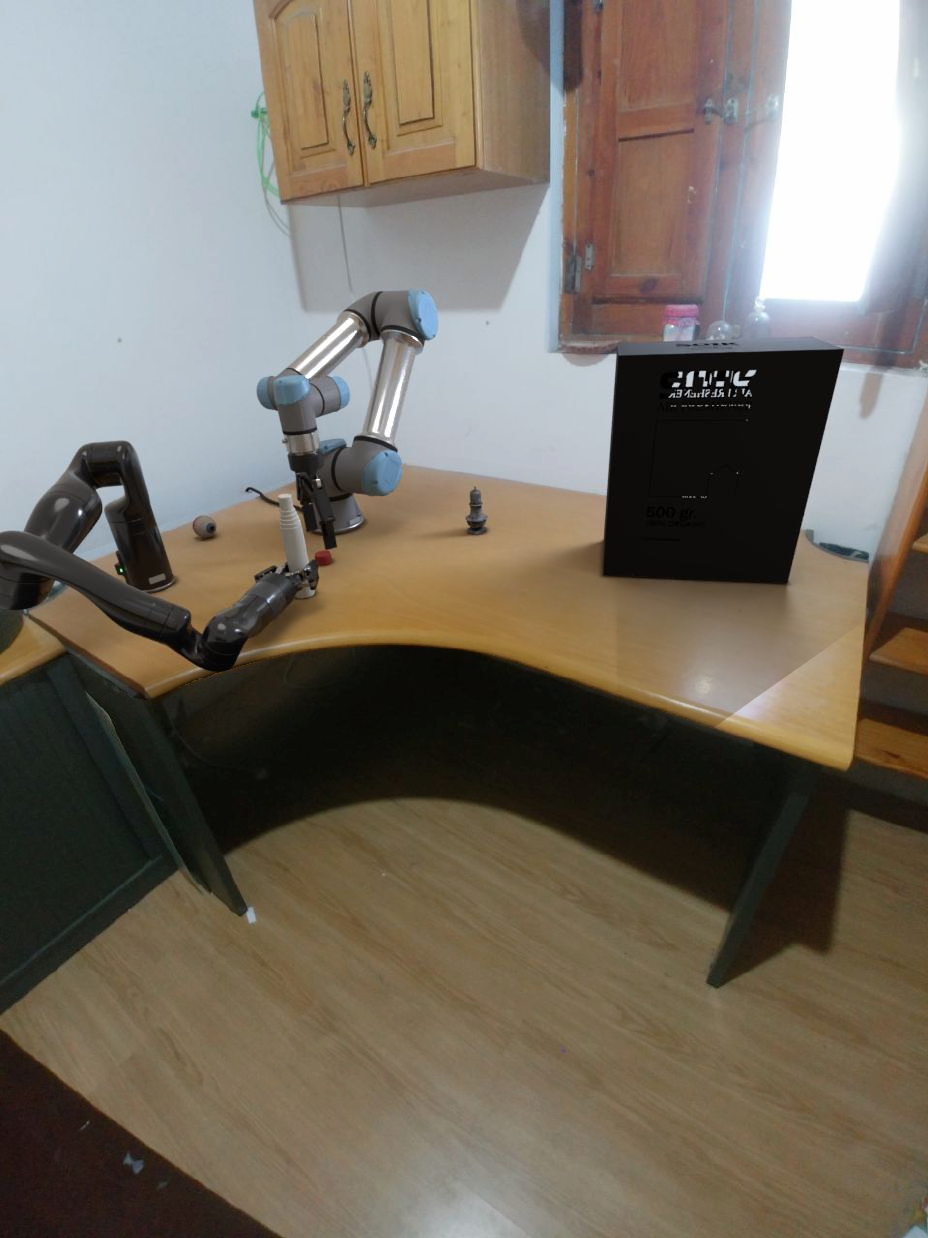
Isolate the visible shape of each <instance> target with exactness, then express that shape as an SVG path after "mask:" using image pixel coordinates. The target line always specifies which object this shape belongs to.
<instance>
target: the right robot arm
mask: <svg viewBox="0 0 928 1238" xmlns="http://www.w3.org/2000/svg"><path fill="white" fill-rule="evenodd" d="M335 322H336V323H335V324H334V325H332V326H331V327H330V328H329V329H328V330H326V332H325V333H324V334H322V335H321V336H320V337H318V338H317V340H316V341H315V342H313V343H312V344H311V345H310V346H308V347H307V349H306V350H304V351H303V352H302V353H301V354H300V355H299V356H297V358H295V359H294V360H293V361H292V362H291V363H290V364H289V365H288V366H286V367H285V368H284V369H283V370H282V371H281V372H279V373H278V374H277V375H275V376H274V375H269V376H264V377H262V378H260V379H259V381H258V382H257V385H256V397H257V400H258V402H259V403H260V405H261V406H262V407H263V408H265V409H267V410H271V411H276V412H277V413H278V418H279V423H280V426H281V431H282V435H283V436H282V437H283V438H282V439H281V443H282V444H284V445H285V451H286V452H288V453H287V460H288V464H289V469H290V471H292V472H293V473H294V474H295V488H296V489H295V491H296V499H297V501H299V504H300V506H299V505H296V504H293V507H294V508H295V510H298V511H300V512H302V516H303V521H304V525H305V531H306V532H307V533H310V532H312V533H314V534H317V535H322V536H321V537H322V540H323V546H324V550H326V551H330V550H332V549H336V548H338V543H337V539H336V535H339V534H340V535H341V534H345V533H350V532H353V531H355V530H357V529H359V528H361V527H362V526H363V525H364V523H365V519H364V514H363V512H362V510H361V508H360V505H359V504H358V501H357V500H356V498H355V495H354V494H357V495H363V496H364V495H365V496H369V497H386V496H388V495H390V494H391V493H393V492H394V491H395V490H396V489H397V487H398V486H399V484H400V481H401V479H402V475H403V467H402V464H403V462H402V458H401V456H400V455H399V454H398V452H399V449H398V446H397V445H396V443H395V439H396V435H397V432H398V427H399V423H400V419H401V415H402V411H403V407H404V403H405V399H406V395H407V391H408V388H409V383H410V378H411V375H412V371H413V367H414V363H415V359H416V356H418V355H421V354H422V353H423V350H424V346H425V343H426V341H429V342H430V341H431V340H434V338H436V336H437V334H438V330H439V315H438V311H437V306H436V303H435V301H434V299H433V297H432V296H431V295H430V293H428V292H427V291H426V290H423V289H413V288H410V289H408V290H406V289H405V290H379V291H373V292H370V293H368V294H366V295H364V296H362V297H360V298H359V299H357V300H355V301H354V302H352V303H351V304H350V305H348V306H347V307H345V309H344V310H343V311H342V312H340V313H339V314H338V316H337V318H336V321H335ZM376 341H380V342H381V343H382V349H381V352H380V356H379V361H378V364H377V368H376V373H375V377H374V381H373V385H372V389H371V393H370V396H369V401H368V405H367V409H366V413H365V417H364V421H363V425H362V429H361V432H359V433H357V434H355V435H354V436H353V440H352V442H351V443H352V444H351V446H347V444H348V443H347V442H346V440H345V439H344V438H341V437H340V438H338V437H337V438H330V439H325V440H321V439H320V434H319V429H318V424H317V421H316V420H317V419H318V418H320V417H323V416H326V415H330V414H332V413H337V412H339V411H340V410H343V409H344V408H346V407H347V406H348V405H349V403H350V401H351V391H350V387H349V385H348V383H347V381H346V380H345V379H343V378H342V377H341V376H340V375H330V374H331V373H332V372H334V370H335V369H336V368H337V367H339V365H340V364H342V362H343V361H344V360H346V359H347V358H348V357H349V356H350V355H351V354H352V353H353V352H354V351H355V350H356V349H362V348H364V347H365V346H366V345H368V344H369V343H371V342H376ZM249 491H252V492H254V493H256V494H258V495H259V496H260V497H261V498H262V499H263V500H264V501H266V502H268V503H271V504H273V505H276V506H279V507H280V504H279V501H276V500H274V499H271V498H269V497H268V496H267V497H266V496H265V495H264V492H262V491H260V490H259V489H256V488H254V487H252V486H248V487H246V488H245V490H244V492H246V493H247V492H249Z"/></svg>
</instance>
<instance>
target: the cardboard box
mask: <svg viewBox="0 0 928 1238" xmlns="http://www.w3.org/2000/svg"><path fill="white" fill-rule="evenodd" d="M844 353H845V348H843V347H841V346H838V345H835V344H832V343H830V342H827V341H824V340H821V339H819V338H816V337H814V336H792V337H791V336H790V337H788V336H787V337H757V338H729V339H727V338H726V339H698V340H696V339H695V340H669V341H668V340H667V341H665V340H664V341H635V342H617V343H616V355H615V356H616V357H615V358H616V359H615V372H614V385H613V399H612V412H611V429H610V440H609V441H610V443H609V455H608V456H609V458H608V471H607V483H606V485H607V486H606V501H605V514H604V527H603V544H602V545H603V546H602V549H603V550H602V551H603V552H602V576H606V577H625V578H626V577H627V578H628V577H629V578H630V577H631V578H647V579H648V578H653V579H673V580H695V581H697V580H698V581H699V580H700V581H722V582H745V583H763V584H765V583H767V584H786V585H787V584H788V582H789V578H790V575H791V570H792V566H793V562H794V557H795V554H796V549H797V546H798V541H799V537H800V534H801V529H802V526H803V525H802V524H803V521H804V517H805V513H806V509H807V504H808V501H809V496H810V492H811V488H812V484H813V480H814V475H815V472H816V467H817V464H818V460H819V455H820V451H821V448H822V443H823V439H824V435H825V431H826V427H827V422H828V420H829V419H828V418H829V414H830V410H831V407H832V401H833V397H834V395H835V389H836V385H837V381H838V377H839V374H840V373H839V372H840V370H841V366H842V365H841V364H842V360H843V356H844ZM750 371H755V372H754V373H753V374H752V375H749V376H748V375H747V374H748V373H749V372H750ZM692 372H693V375H692V382H691V386H687V382H688V381H687V379H688V375H689V374H690V373H692ZM700 372H705V375H704V376H700ZM679 373H681V376H680V374H679ZM715 373H716V375H715ZM727 373H728V375H727ZM737 373H738V379H737V381H738V382H747V384H746V385H736V384H735V383H734V380H735V376H736V374H737ZM705 382H706V385H704V384H705ZM718 382H719V383H721V382H722V383H723V386H722V385H721V386H719V385H718V386H717V383H718ZM674 384H679V385H677V386H674Z"/></svg>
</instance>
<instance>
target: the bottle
mask: <svg viewBox="0 0 928 1238" xmlns="http://www.w3.org/2000/svg"><path fill="white" fill-rule="evenodd" d="M292 496H293V495H292V494H291V493H282V494H279V495H278V496H277V500H278V501H277V502H279V504H280V506H279V522H278V523H279V530H280V535H281V539H282V543H283V549H284V553H285V558H286V562H287V563H288V567H289V572H290V573H291V572H293V571H295V570H296V569H298V568H300V569H302V568H304V567H306V565H307V564H308V563H309V562H310V561H309V560H310V559H309V556H308V550H307V545H306V541H305V535H304V529H303V525H302V523H301V519H300V517H299V514H298V512H297V511H296V509H295V508H294V507H293V505H294V503H293V497H292ZM305 576H306V572H305ZM315 593H316V590H310V587H303V589H302V590H300V591H298V592H296V595H295V597H294V598H296V599H308V598H311V597H313V596H314V595H315Z"/></svg>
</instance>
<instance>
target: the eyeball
mask: <svg viewBox="0 0 928 1238" xmlns="http://www.w3.org/2000/svg"><path fill="white" fill-rule="evenodd" d="M192 529H193V532H194V533H195V534H196V535H197V536H198V537H201V538H210V537H212V536H214V535H215V533H216V531H217V523H216V521H215V520H214V519H213V518H212V517H211V516H208V515H204V514H203V515H199V516H197V517H196V518H195V519H194V520H193V521H192Z"/></svg>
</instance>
